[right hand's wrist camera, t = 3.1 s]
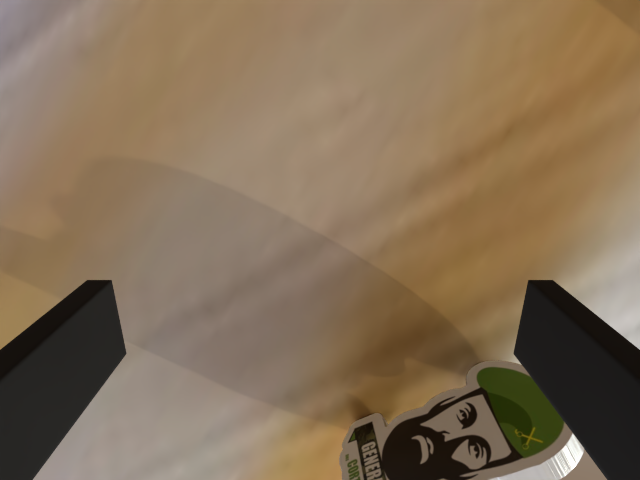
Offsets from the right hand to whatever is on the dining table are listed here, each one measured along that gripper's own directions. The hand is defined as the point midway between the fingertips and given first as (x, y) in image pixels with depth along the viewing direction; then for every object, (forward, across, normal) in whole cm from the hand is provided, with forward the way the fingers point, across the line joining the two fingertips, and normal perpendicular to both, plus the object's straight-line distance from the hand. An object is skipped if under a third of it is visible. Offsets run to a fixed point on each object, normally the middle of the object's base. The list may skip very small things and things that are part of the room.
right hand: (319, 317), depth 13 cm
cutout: (+28, +14, -28) cm, 42 cm away
